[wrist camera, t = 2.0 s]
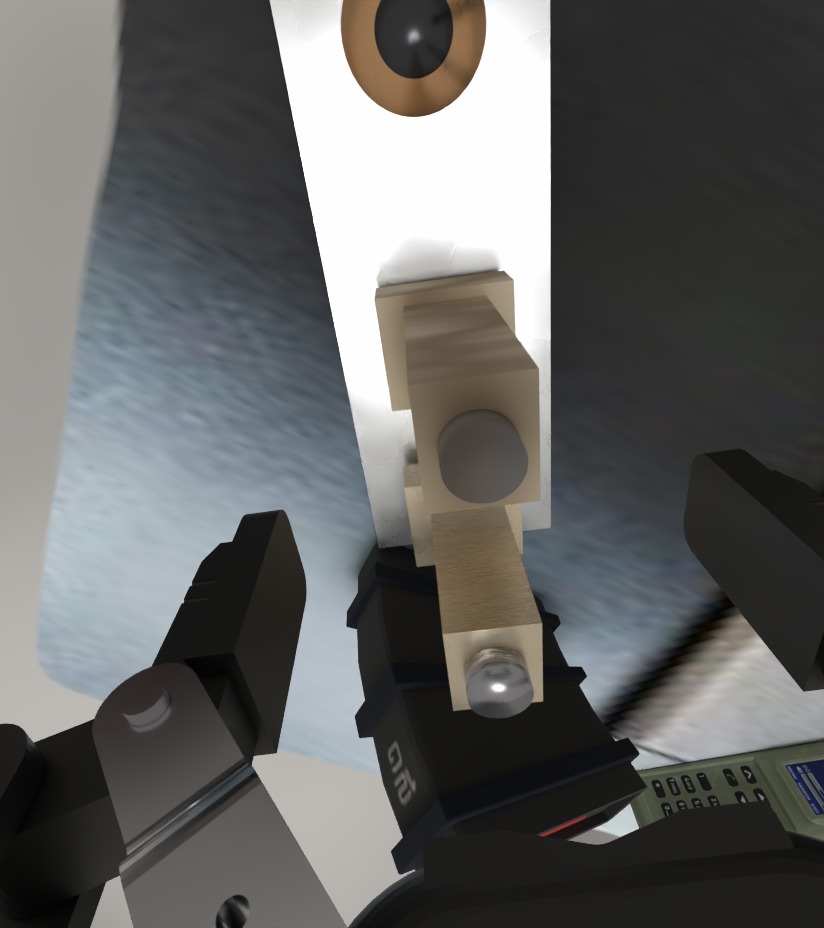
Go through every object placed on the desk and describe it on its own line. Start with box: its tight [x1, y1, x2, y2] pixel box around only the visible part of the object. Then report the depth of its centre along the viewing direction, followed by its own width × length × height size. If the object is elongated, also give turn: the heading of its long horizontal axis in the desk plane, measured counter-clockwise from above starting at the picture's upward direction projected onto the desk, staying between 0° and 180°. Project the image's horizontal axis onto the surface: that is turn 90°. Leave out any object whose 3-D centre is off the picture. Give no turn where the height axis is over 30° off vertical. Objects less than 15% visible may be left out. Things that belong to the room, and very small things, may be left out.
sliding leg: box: [374, 271, 541, 515], centre depth 17 cm, size 5×4×12 cm
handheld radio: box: [630, 741, 824, 840], centre depth 37 cm, size 7×3×25 cm
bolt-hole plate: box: [270, 0, 551, 718], centre depth 16 cm, size 9×28×13 cm, turn 7°
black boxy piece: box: [346, 543, 648, 874], centre depth 26 cm, size 4×13×15 cm, turn 64°
